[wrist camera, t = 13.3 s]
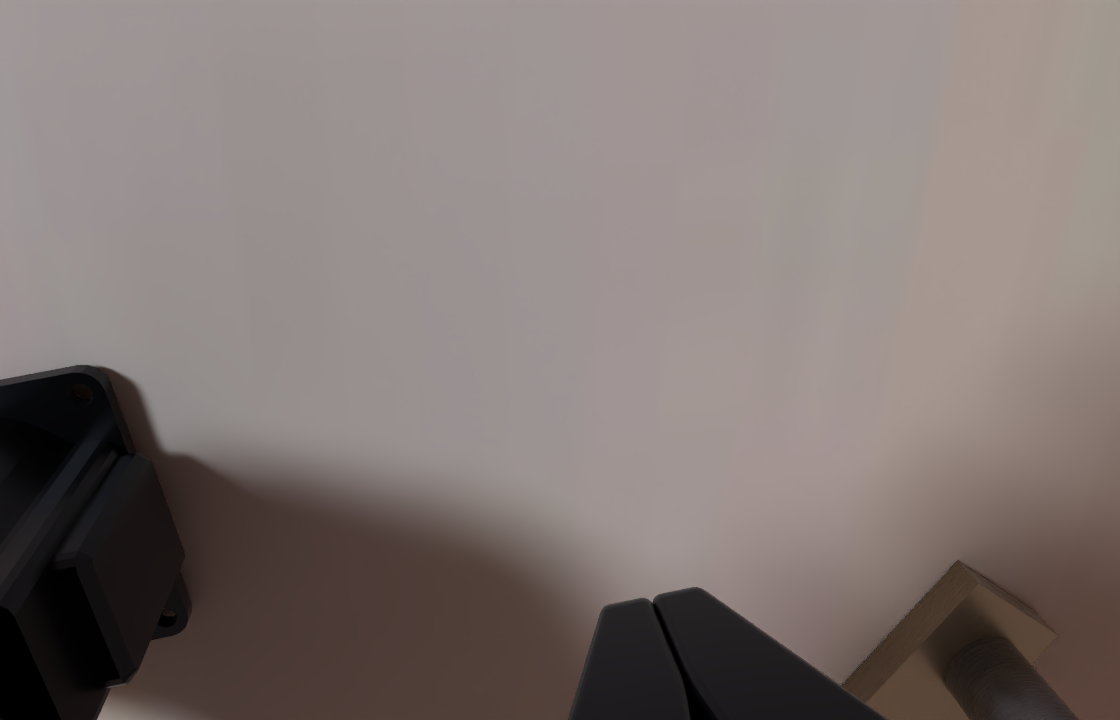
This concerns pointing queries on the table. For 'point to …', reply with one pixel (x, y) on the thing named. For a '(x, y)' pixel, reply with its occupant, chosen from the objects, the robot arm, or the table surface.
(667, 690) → the robot arm
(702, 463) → the table surface
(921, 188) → the table surface
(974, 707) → the gate frame
